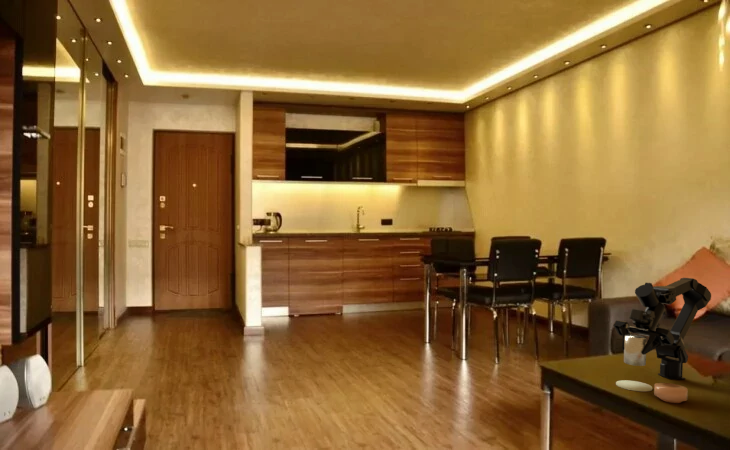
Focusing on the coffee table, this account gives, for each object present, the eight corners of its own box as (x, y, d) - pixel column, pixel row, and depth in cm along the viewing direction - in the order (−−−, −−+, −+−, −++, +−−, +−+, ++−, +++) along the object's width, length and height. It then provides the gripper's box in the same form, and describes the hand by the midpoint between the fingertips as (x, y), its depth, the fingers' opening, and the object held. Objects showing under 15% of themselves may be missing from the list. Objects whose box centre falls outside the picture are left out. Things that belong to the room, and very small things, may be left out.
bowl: (673, 395, 177) (674, 382, 177) (694, 404, 168) (694, 391, 168) (647, 395, 176) (648, 382, 176) (666, 404, 167) (667, 391, 167)
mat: (638, 381, 192) (638, 380, 192) (659, 391, 181) (659, 389, 181) (609, 381, 190) (609, 380, 190) (628, 391, 179) (628, 390, 179)
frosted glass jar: (644, 361, 187) (644, 335, 187) (647, 366, 181) (648, 339, 181) (622, 359, 190) (623, 333, 189) (625, 364, 183) (625, 337, 183)
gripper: (616, 297, 195) (597, 331, 189) (670, 304, 180) (652, 341, 174) (628, 317, 200) (610, 351, 193) (682, 326, 184) (664, 363, 178)
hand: (632, 351), depth 185 cm, fingers closed on frosted glass jar, 7 cm apart
